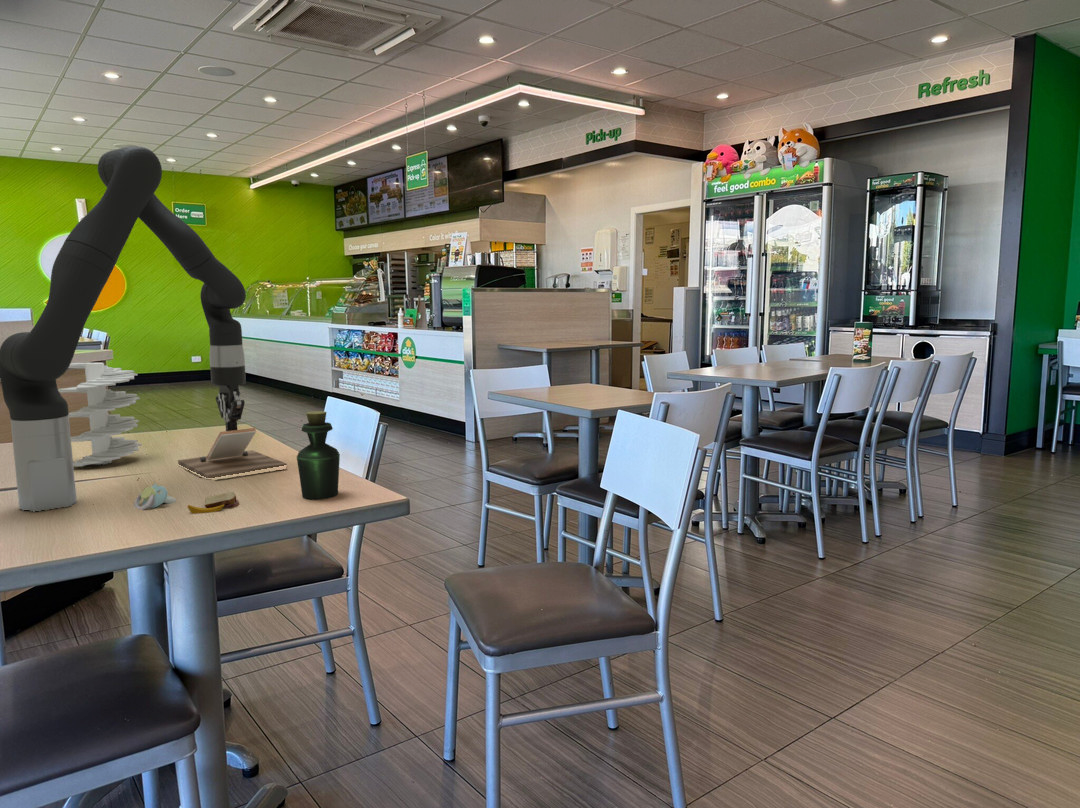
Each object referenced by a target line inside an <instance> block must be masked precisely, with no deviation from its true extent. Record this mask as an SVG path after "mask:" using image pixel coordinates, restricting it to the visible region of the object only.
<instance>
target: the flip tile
mask: <svg viewBox="0 0 1080 808" xmlns="http://www.w3.org/2000/svg"><path fill="white" fill-rule="evenodd" d="M256 433H257V431H256V427H252V428H243V429H237V430H233V431H226V430H225V431H219V433H218V435H217V436H216V439H215V441H214V442H213V445H212V446H211V448H210V450H209V452H208V454H207V455H206V456H207V458H208V460H212V459H220V458H227V457H234V456H242V454H243V452H244V451H246V449H247V448H248V445H249V444H250V443H251V441H252V439H253V438H254V436H255V434H256Z"/></svg>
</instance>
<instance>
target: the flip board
mask: <svg viewBox="0 0 1080 808" xmlns="http://www.w3.org/2000/svg"><path fill="white" fill-rule="evenodd" d="M177 463H178V464H179V465H181V466H183V467H185V468H187V469H189V470H191V471H193V472H196V473H197V474H200V475H201V476H204V477H206V478H215V477H221V476H226V475H233V474H239V473H245V472H250V471H255V470H261V469H267V468H273V467H279V466H284V465H287V466H288V463H286V462H284V461H281V460H278V459H277V458H273V457H271V456H268V455H266V454H263V453H260V452H258V451H256V450H245V451H244V452H243V454H242V456H234V457H227V458H220V459H212V460H208V458H207V455H206V456H205V455H204V456H198V457H191V458H185V459H177Z"/></svg>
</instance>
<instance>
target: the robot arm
mask: <svg viewBox="0 0 1080 808" xmlns="http://www.w3.org/2000/svg"><path fill="white" fill-rule="evenodd" d="M97 172H98V175H99V178H100V180H101V181H102V183H103V184H104V186H105V187H106V190H105V192H103V195H102V196H101V198H100V199H99V201H97V203H96V205H94V207H92V208H91V210H90V211H89V212H88V213H87V214H86V215H84V217H83V218H82V219H81V220H80V221H79V222H78V223H77V224H76V225H75V226H74V227H73V229H72V230H70V233H69V234H68V236H67V237H66V238H65V240H64V242H63V244H62V246H61V248H60V250H59V251H58V253H57V255H56V258H55V260H54V261H53V264H52V265H53V266H52V269H51V275H50V286H49V294H48V299H47V302H46V304H45V307H44V309H43V311H42V313H41V314H40V316H39V318H38V320H37V322H36V323H35V325H34V327H33V328H32V329H31V331H27V332H26V331H25V332H24V331H23V332H17V333H13V334H12V335H9V336H8V337H7V338H6V339H4V341H3V342H2V343H1V345H0V383H1V390H2V396H3V401H4V403H5V406H6V407H7V409H8V412H9V419H10V428H11V429H10V430H11V437H12V438H11V439H12V449H13V457H14V458H13V459H14V467H15V470H14V471H15V478H16V489H17V498H18V507H19V510H20V509H22V510H21V511H24V510H30V511H29V512H32V511H33V512H32V513H36V512H35V511H39V512H42V511H41V510H45V511H50V510H49V509H52V510H55V509H54V508H58V509H62V508H61V507H64V508H68V507H69V506H71V507H73V504H76V503H77V501H78V499H77V490H76V480H75V479H76V478H75V469H74V467H75V466H73V462H74V457H73V448H72V447H73V446H72V442H71V437H72V436H71V425H70V417H69V415H68V414H69V413H70V411H69V404H68V402H67V400H66V399H65V398H64V397H63V395H62V394H61V392H59V391H58V389H59V388H58V384H57V379H59V378H61V377H62V376H63V375H64V374H65V373H66V372H67V370H68V369H69V368H68V367H69V366H70V363H72V361H73V357H74V355H75V353H76V350H77V348H78V344H79V341H80V338H81V337H82V333H83V330H84V328H85V325H86V322H87V321H88V319H89V316H90V315H91V312H92V311H93V310H94V307H95V306H96V303H97V301H98V299H99V297H100V295H101V294H102V291H103V289H104V287H105V285H106V284H107V282H108V280H109V279H110V276H111V274H112V272H113V270H114V268H115V266H116V264H117V262H118V261H119V257H120V255H121V254H122V251H123V248H124V247H125V244H126V242H127V241H128V239H129V237H130V235H131V232H132V230H133V228H134V226H135V224H136V222H137V220H138V219H139V220H141V222H142V223H143V224H144V225H145V226H146V227H147V228H148V229H149V230H150V231H151V232H153V234H154V235H155V236H156V237H157V238H158V239H159V240H160V242H162V244H163V245H164V246H165V248H166V249H167V250H168V251H169V253H170V254H171V255H172V256H173V258H174V260H176V261H177V262H178V263H179V265H180V266H181V267H182V269H183V270H184V271H185V272H186V273H187V275H188V276H190V277H191V278H192V279H195V280H198V281H201V282H202V283H203V284H202V286H201V290H200V294H199V295H200V296H199V297H200V303H201V308H202V310H203V313H204V317H205V319H206V322H207V325H208V329H209V330H208V334H209V348H210V349H209V367H210V368H209V369H210V381H211V382H210V383H211V385H212V386H215V387H219V389H218V391H219V392H218V394H217V395H218V396H215V401H216V404H217V408H218V411H219V415H220V417H221V419H223V421H224V423H225V431H233V430H238V422H239V421H240V420H242V415H243V412H244V411H243V410H244V407H245V400H244V399H242V395H241V392H240V388H239V386H241V385H245V384H246V382H247V381H246V380H247V379H246V365H245V364H246V362H245V351H244V347H243V332H242V325H241V323H240V321H238V320H236V319H235V318H233V315H232V312H231V309H232V310H233V309H238V308H240V307H241V306H243V304H245V301H246V298H247V297H246V296H247V295H246V294H247V292H246V289H245V286H244V285H243V283H242V281H241V280H240V279H239V277H237V275H235V274H234V273H233V272H232V271H231V270H230V269H229V268H228V267H227V266H225V264H223V263H222V262H221V261H220V260H218V258H216V256H215V255H214V253H213V252H212V250H210V248H209V247H208V245H207V244H206V242H205V241H204V240H203V239H202V238H201V237H200V235H199V234H198V233H197V232H196V230H194V229H193V228H192V227H191V226H190V225H189V224H187V222H185V221H183V219H181V218H180V217H178V216H177V215H176V214H175V213H173V212H172V211H171V210H170V209H169V208H168V207H167V206H166V205H165V204H164V203H163V202H162V201H161V200H160V199H159V198H158V197H157V195H156V194H155V192H157V189H158V188H159V186H160V184H161V180H162V176H163V169H162V164H161V161H160V158H159V157H158V156H157V155H156V153H155V152H153V151H152V150H150V149H148V148H146V147H143V146H138V145H137V146H135V145H133V146H125V147H121V148H117V149H113V150H110V151H107V152H105V153H103V154H102V155H101V156H100V157H99V159H98V163H97Z"/></svg>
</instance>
